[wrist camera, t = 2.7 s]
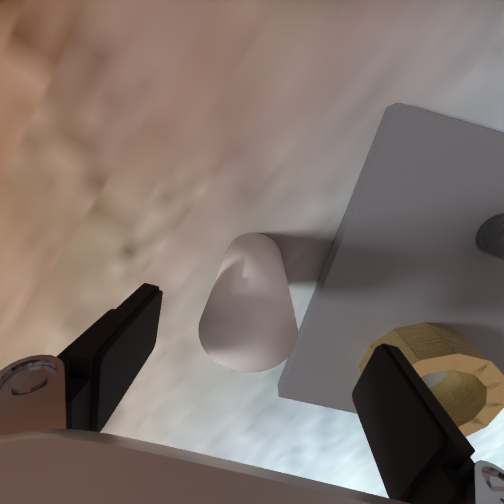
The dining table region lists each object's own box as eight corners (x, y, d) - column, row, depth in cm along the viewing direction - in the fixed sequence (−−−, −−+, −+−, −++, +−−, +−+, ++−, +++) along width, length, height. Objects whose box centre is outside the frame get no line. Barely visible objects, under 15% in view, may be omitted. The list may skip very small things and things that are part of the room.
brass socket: (387, 312, 17) (412, 342, 14) (490, 337, 17) (535, 371, 14) (344, 392, 20) (358, 430, 17) (434, 412, 20) (463, 453, 17)
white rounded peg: (232, 226, 16) (208, 280, 9) (288, 240, 17) (311, 304, 9) (221, 277, 18) (191, 360, 10) (273, 289, 18) (281, 380, 10)
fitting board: (386, 107, 14) (398, 102, 12) (635, 179, 14) (667, 181, 13) (277, 384, 21) (278, 396, 20) (444, 420, 22) (454, 434, 21)
